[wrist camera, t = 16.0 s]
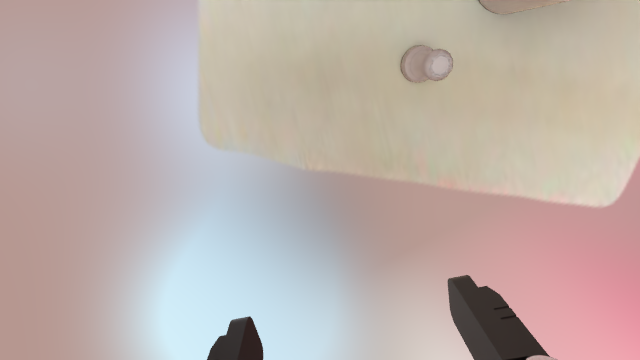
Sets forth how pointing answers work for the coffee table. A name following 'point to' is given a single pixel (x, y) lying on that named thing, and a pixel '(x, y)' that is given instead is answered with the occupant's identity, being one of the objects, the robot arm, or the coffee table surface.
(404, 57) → the rook chess piece
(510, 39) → the coffee table surface
